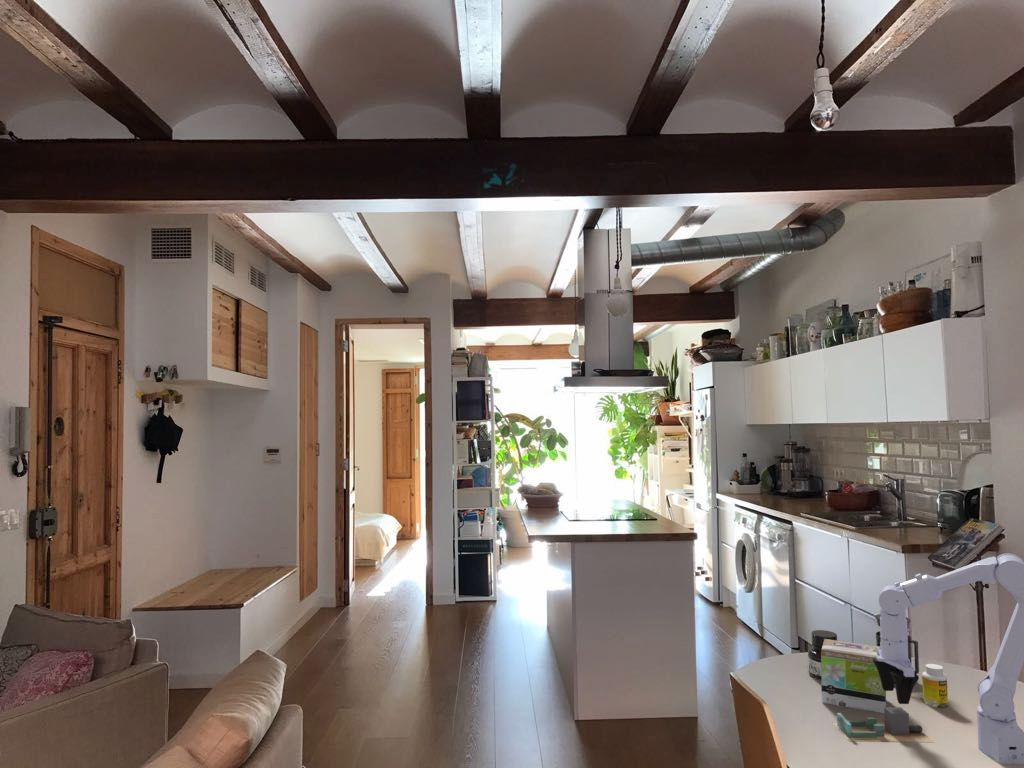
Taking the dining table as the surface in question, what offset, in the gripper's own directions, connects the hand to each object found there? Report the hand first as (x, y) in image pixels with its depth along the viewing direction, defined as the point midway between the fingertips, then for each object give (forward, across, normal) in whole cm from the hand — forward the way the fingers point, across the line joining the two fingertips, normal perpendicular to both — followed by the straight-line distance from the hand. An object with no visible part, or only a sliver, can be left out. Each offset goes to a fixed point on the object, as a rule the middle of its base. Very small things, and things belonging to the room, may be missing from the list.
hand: (895, 696), depth 170 cm
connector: (+8, 0, +2) cm, 8 cm away
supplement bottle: (+9, -17, +18) cm, 26 cm away
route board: (+9, 0, -4) cm, 10 cm away
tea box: (+9, -18, -2) cm, 20 cm away
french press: (+9, -36, +16) cm, 41 cm away
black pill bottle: (+9, -38, -2) cm, 39 cm away
